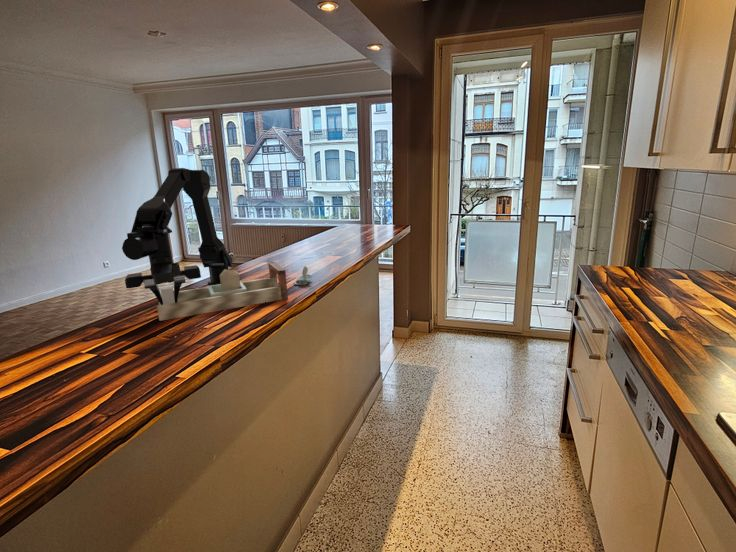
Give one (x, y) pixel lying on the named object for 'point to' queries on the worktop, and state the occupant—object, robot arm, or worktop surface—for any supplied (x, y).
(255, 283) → the channel
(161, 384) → the worktop surface
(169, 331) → the worktop surface
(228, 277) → the candle
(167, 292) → the square frame with handle
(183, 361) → the worktop surface
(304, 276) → the pacifier
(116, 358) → the worktop surface
